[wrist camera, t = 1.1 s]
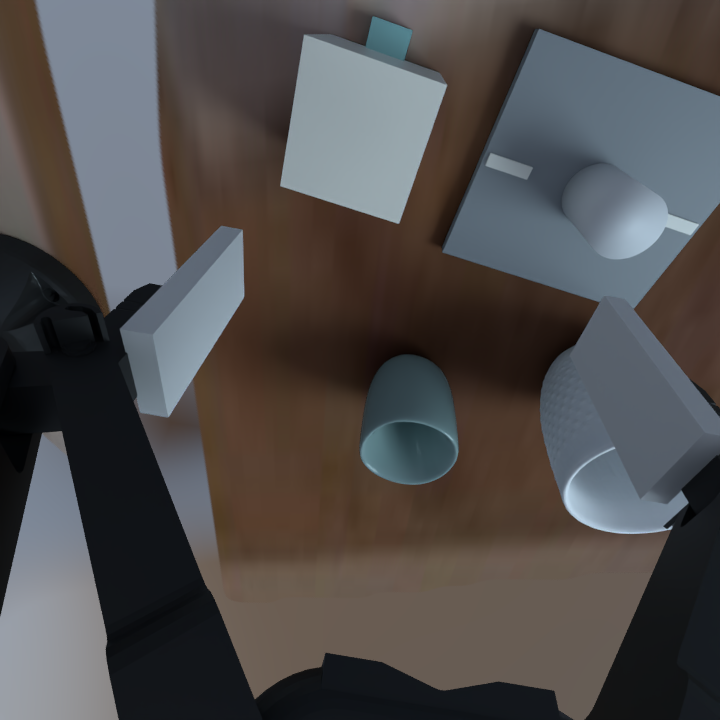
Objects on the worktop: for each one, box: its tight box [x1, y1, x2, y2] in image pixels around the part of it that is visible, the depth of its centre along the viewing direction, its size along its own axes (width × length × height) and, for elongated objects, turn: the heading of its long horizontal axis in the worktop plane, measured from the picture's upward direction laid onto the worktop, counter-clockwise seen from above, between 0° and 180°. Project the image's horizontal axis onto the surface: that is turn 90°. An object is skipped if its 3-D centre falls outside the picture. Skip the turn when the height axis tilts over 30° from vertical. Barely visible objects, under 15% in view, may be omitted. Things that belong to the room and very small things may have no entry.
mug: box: [540, 346, 689, 534], centre depth 34 cm, size 15×11×13 cm
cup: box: [359, 354, 459, 484], centre depth 37 cm, size 8×8×10 cm
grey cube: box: [280, 16, 447, 224], centre depth 25 cm, size 7×10×8 cm
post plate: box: [442, 29, 720, 309], centre depth 27 cm, size 16×14×7 cm
